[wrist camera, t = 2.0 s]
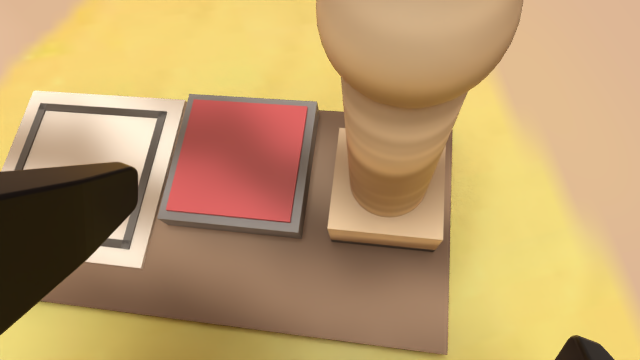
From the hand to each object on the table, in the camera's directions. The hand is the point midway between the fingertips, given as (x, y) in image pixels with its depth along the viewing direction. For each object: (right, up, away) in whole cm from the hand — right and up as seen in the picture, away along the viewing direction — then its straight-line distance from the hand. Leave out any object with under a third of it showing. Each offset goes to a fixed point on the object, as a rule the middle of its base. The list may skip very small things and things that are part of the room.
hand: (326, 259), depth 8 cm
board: (-5, 0, +14) cm, 15 cm away
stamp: (+3, +1, +12) cm, 12 cm away
